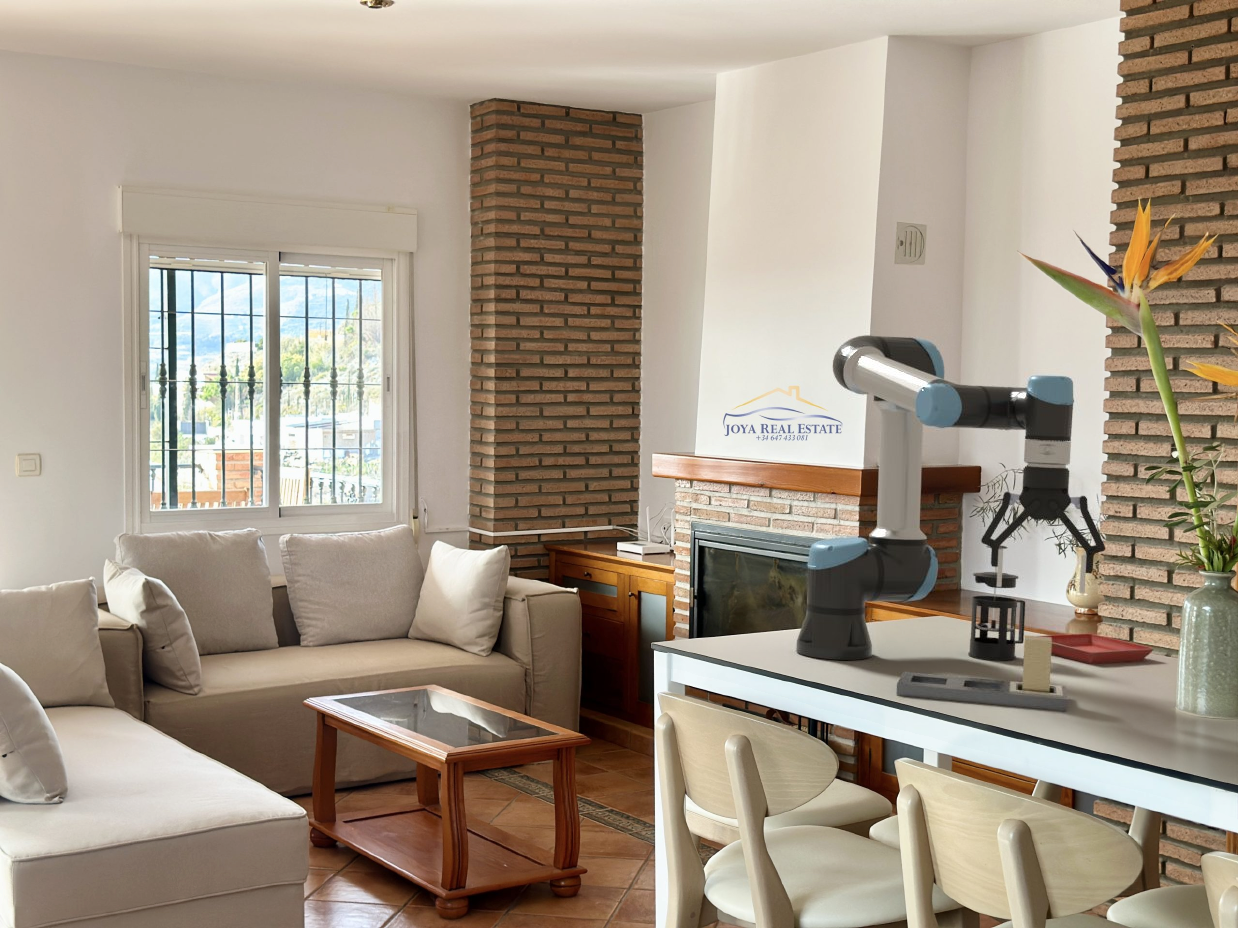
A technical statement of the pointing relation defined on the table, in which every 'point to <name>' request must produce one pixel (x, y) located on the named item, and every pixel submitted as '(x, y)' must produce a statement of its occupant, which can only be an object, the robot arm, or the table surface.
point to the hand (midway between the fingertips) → (1040, 589)
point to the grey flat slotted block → (980, 691)
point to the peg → (1037, 664)
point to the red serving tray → (1096, 648)
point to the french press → (999, 646)
